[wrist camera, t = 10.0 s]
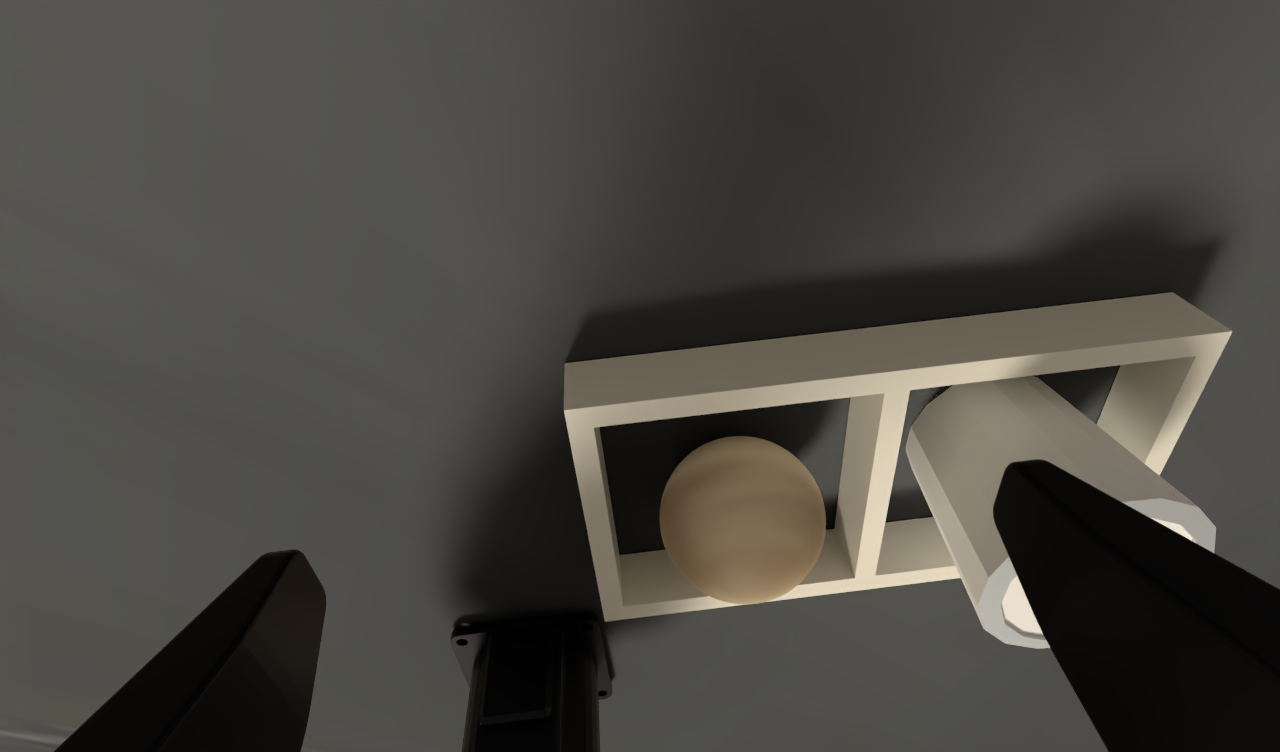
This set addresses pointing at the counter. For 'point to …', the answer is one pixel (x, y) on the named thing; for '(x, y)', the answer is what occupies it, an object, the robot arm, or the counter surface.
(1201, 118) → the counter surface
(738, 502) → the tan wooden ball
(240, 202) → the counter surface
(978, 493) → the white and grey cylinder
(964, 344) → the holder
